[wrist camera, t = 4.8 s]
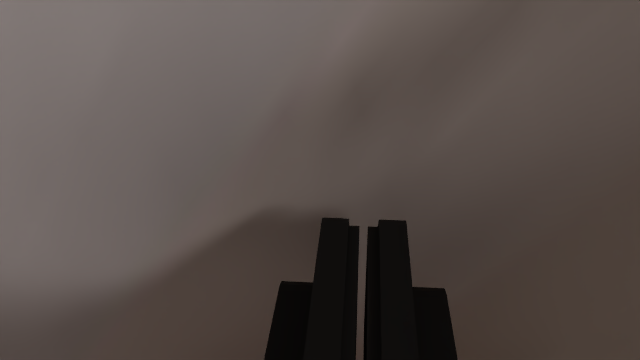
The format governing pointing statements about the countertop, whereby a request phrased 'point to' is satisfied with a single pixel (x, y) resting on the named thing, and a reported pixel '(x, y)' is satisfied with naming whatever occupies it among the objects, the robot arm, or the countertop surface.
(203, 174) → the countertop surface
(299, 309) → the robot arm
